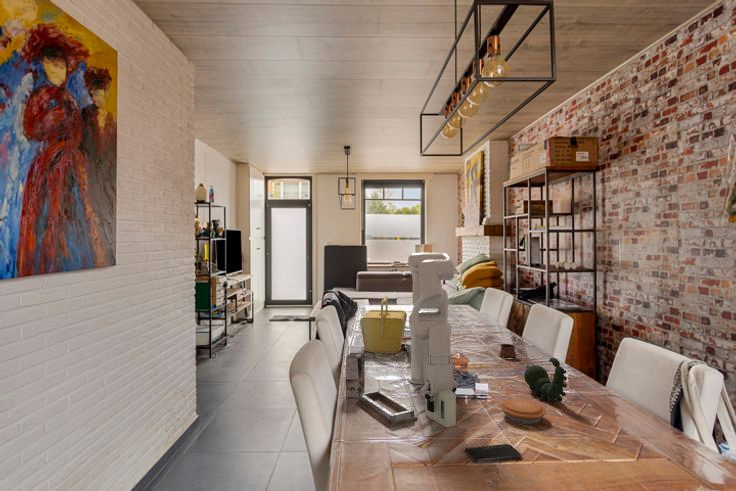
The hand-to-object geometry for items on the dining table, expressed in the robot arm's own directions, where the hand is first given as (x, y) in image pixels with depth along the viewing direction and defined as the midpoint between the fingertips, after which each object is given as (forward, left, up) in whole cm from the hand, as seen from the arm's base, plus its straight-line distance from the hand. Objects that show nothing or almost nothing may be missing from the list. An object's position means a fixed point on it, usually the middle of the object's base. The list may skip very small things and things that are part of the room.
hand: (440, 408), depth 148 cm
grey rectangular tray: (+13, -16, -4) cm, 21 cm away
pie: (-27, +13, -4) cm, 30 cm away
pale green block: (0, 0, -4) cm, 4 cm away
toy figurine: (-51, +3, -4) cm, 51 cm away
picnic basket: (-37, -98, -4) cm, 105 cm away
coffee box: (+14, -38, -4) cm, 41 cm away
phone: (+2, +27, -4) cm, 27 cm away
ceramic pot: (-84, -46, -5) cm, 96 cm away
